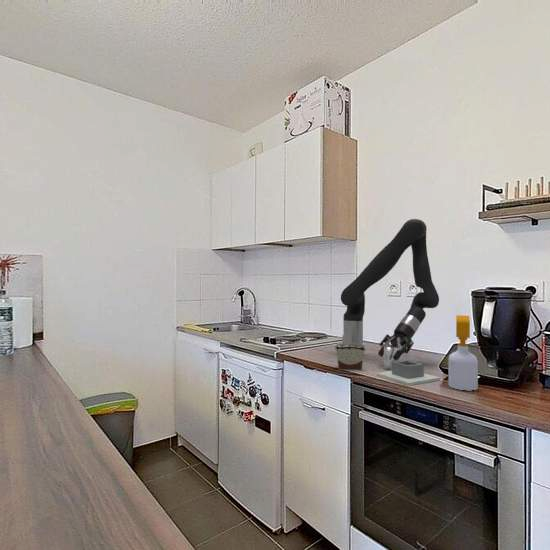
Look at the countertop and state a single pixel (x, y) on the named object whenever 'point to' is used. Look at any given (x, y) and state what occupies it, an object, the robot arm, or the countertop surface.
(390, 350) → the steel tube
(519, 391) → the countertop surface
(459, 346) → the soap bottle
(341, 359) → the food container
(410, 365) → the plate
